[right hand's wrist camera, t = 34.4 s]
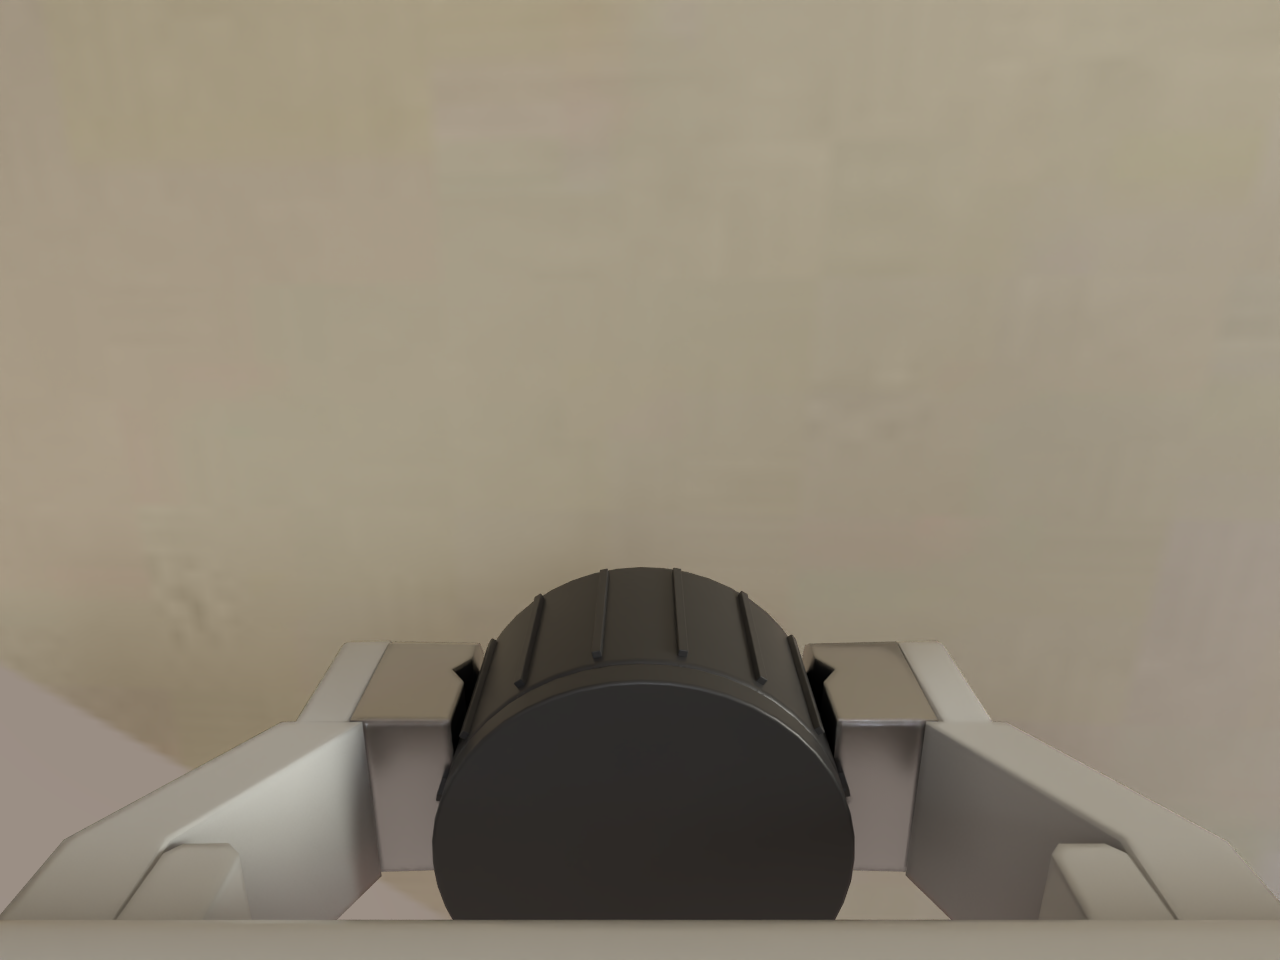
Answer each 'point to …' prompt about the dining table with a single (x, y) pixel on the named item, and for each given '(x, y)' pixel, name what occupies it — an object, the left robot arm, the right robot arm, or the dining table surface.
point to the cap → (643, 764)
